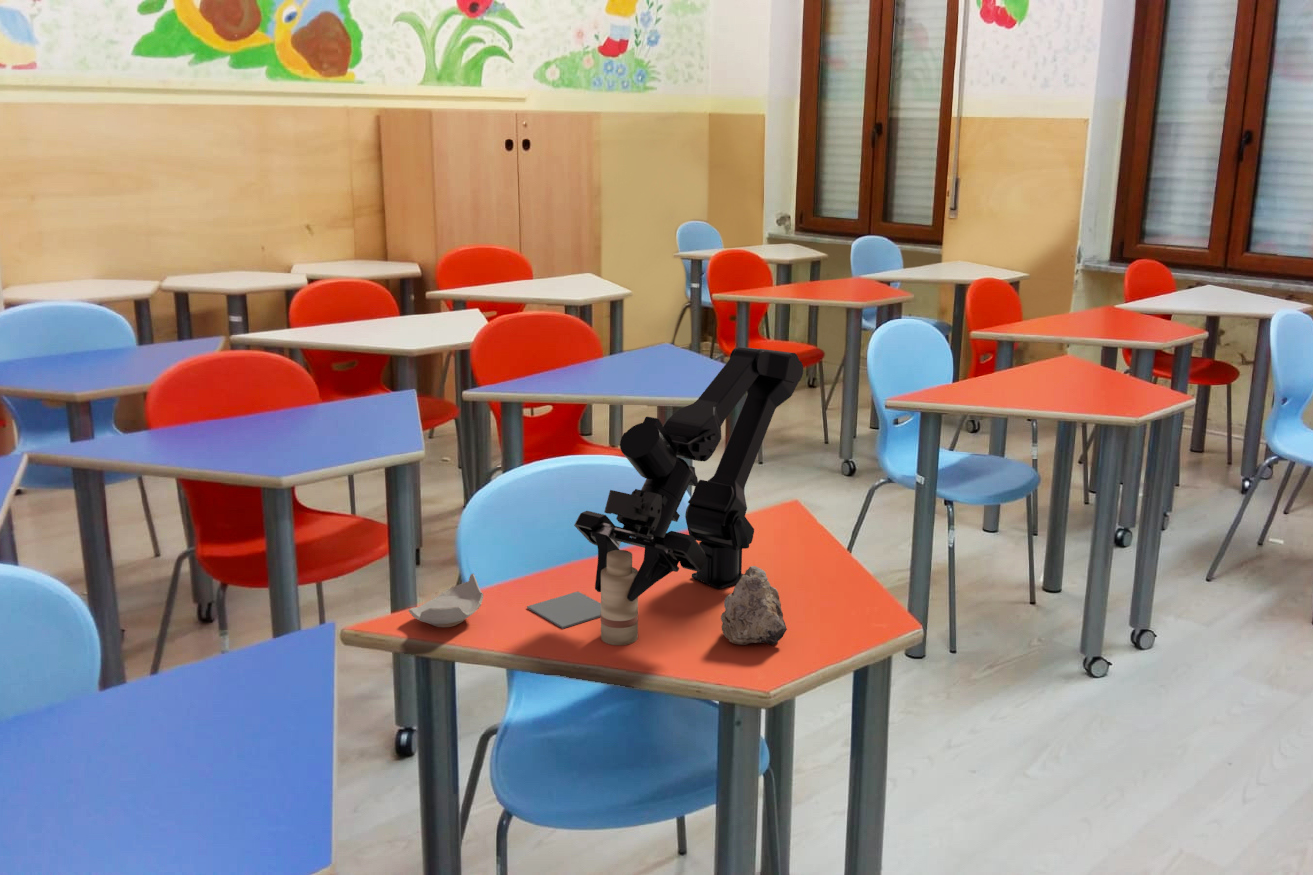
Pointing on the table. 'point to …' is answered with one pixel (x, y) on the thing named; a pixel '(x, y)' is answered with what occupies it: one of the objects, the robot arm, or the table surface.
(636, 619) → the skittle
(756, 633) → the rock
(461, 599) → the pottery shard
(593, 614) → the mat
